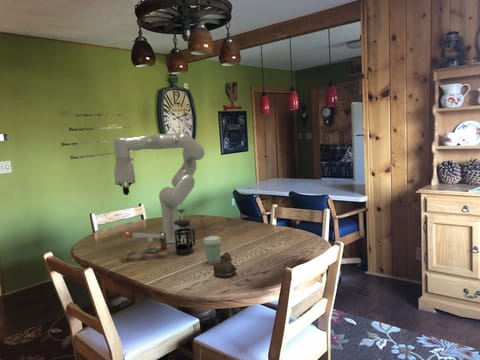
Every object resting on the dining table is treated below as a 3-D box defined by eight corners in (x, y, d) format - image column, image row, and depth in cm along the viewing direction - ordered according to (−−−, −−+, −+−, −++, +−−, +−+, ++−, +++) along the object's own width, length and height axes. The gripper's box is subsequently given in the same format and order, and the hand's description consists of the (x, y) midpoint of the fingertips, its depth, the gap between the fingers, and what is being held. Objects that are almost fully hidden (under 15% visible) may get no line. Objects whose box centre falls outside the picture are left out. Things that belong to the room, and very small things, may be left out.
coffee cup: (213, 258, 186) (211, 234, 185) (226, 261, 181) (224, 236, 180) (201, 263, 180) (199, 239, 178) (214, 266, 175) (212, 241, 173)
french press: (179, 257, 191) (176, 212, 188) (171, 253, 198) (167, 210, 195) (199, 251, 198) (196, 208, 195) (190, 248, 205) (187, 206, 202)
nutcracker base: (168, 250, 203) (166, 230, 201) (167, 257, 191) (166, 236, 189) (126, 255, 199) (124, 235, 198) (122, 262, 187) (120, 241, 186)
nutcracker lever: (164, 240, 197) (165, 232, 196) (164, 242, 194) (165, 234, 194) (120, 238, 193) (121, 231, 193) (119, 240, 190) (120, 232, 190)
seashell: (245, 258, 165) (230, 253, 172) (227, 250, 157) (212, 245, 165) (235, 283, 162) (220, 277, 169) (217, 276, 155) (202, 270, 162)
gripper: (138, 159, 206) (141, 192, 208) (109, 161, 203) (113, 194, 206) (136, 160, 198) (140, 194, 201) (107, 162, 196) (110, 197, 198)
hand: (126, 194), depth 203 cm, fingers closed
